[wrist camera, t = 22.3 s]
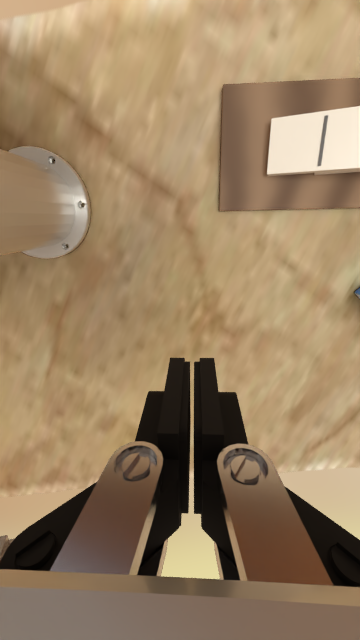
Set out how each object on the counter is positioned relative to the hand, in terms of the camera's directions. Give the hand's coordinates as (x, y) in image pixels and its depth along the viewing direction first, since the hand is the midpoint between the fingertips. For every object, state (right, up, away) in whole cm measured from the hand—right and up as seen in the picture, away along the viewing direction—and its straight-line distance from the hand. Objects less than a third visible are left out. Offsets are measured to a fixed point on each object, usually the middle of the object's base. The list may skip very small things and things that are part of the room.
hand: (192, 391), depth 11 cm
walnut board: (+18, +22, +20) cm, 35 cm away
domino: (+9, +21, +18) cm, 29 cm away
